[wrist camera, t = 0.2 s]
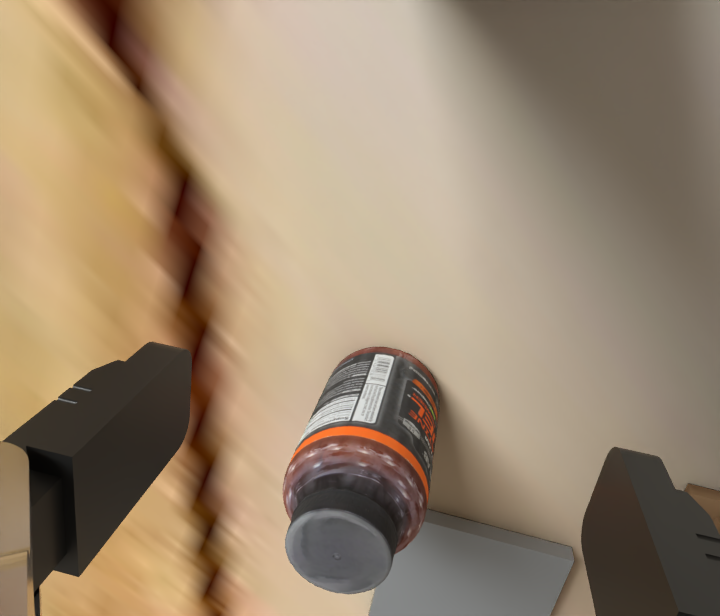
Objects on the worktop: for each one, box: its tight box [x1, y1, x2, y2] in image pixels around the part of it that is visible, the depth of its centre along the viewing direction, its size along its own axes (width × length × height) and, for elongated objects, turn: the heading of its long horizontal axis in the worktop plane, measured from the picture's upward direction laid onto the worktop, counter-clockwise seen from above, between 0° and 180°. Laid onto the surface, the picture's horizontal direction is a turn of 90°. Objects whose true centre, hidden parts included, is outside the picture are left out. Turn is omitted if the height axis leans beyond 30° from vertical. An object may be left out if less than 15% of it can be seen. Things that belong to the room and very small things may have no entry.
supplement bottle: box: [283, 347, 439, 594], centre depth 27 cm, size 6×6×11 cm
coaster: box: [368, 509, 574, 616], centre depth 36 cm, size 10×10×1 cm
